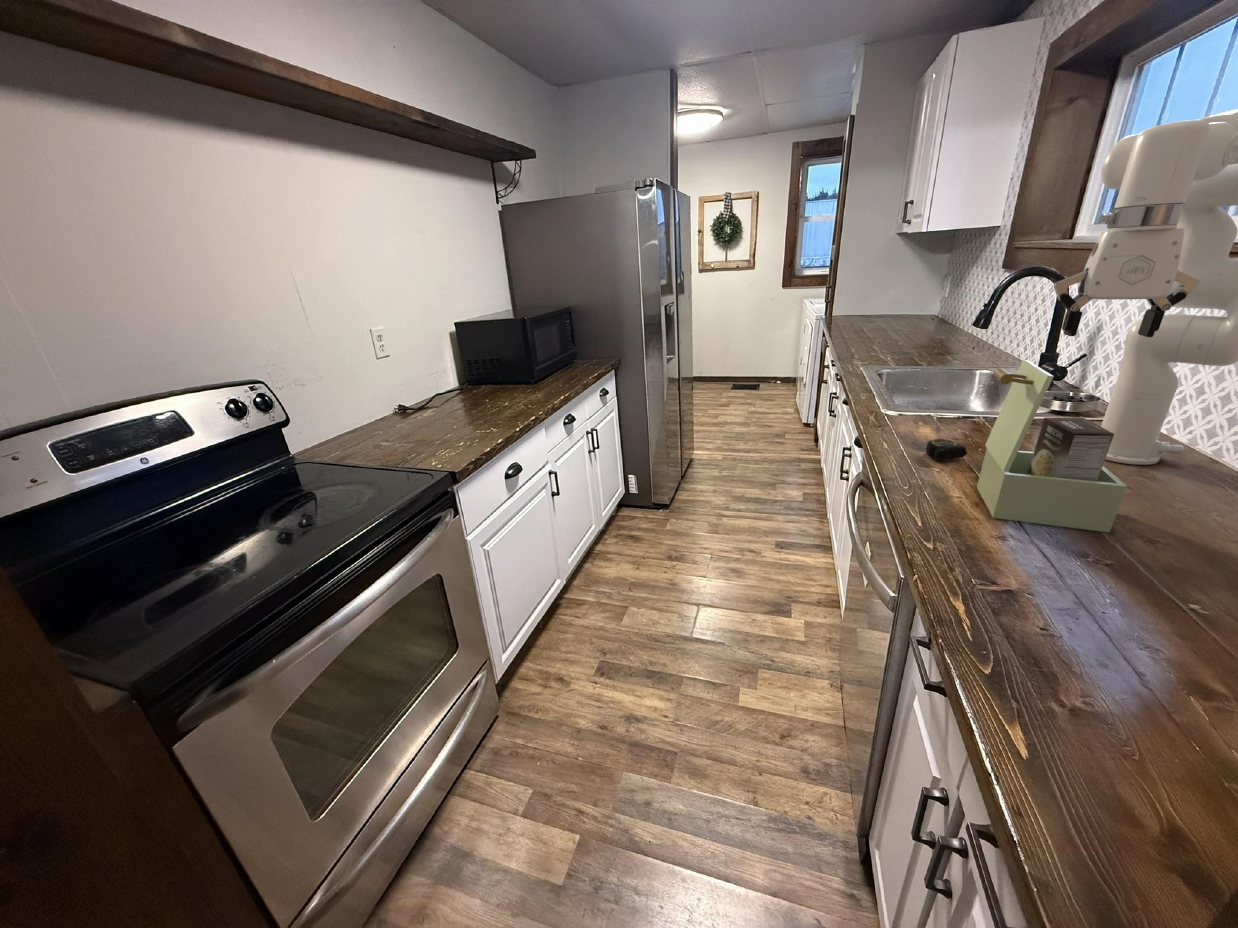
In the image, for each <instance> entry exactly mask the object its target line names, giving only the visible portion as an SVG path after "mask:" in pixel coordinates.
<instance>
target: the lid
mask: <svg viewBox="0 0 1238 928" xmlns="http://www.w3.org/2000/svg"><path fill="white" fill-rule="evenodd" d="M993 377H995V379H997V380H998V381H999V382H1000V383H1001V384H1003V385H1009V384H1011V386H1010V388H1009V391H1008V392H1007V395H1006V397H1005V400H1004V402H1003V404H1002V406H1001V408H1000V411H999V413H998V414H997V417H996V419H995V422H994V424H993V427H992V428H991V431H990V433H989V435H988V438H987V440H986V442H985V444H984V446H985V447H986V449H988V450H989V452H990V453H991V455H992V456H993V457H994V459H995V460H996V462H997V463H998V465H999V466H1000V468H1001V469H1002V470H1003V471H1004V472H1008V471H1009V469H1010V467H1011V465H1012V463H1013V461H1014V459H1015V456H1016V454H1017V452H1018V451H1020V448H1021V446H1022V445H1023V442H1024V440H1025V438H1026V436H1027V433H1028V431H1029V429H1030V427H1031V425H1032V423H1033V421H1034V418H1035V417H1036V415H1037V413H1038V410H1039V408H1040V406H1041V404H1042V402H1043V400H1044V398H1045V396H1046V394H1047V391H1048V389H1049V387H1050V385H1051V383H1052V381H1053V379H1054V375H1052V374H1051V373H1049V372H1048V371H1047V370H1044V369H1043V368H1041V367H1039V366H1038V365H1037V364H1035V363H1033V362H1031V361H1030V360H1029V359H1022V361H1021V363H1020V365H1019V367H1018V370H1017V372H1016V373H1013V372H1009V371H1007V370H1005V369H1004V368H1002V367H999V368H996V369H995V370H994V371H993Z"/></svg>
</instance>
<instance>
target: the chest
mask: <svg viewBox="0 0 1238 928" xmlns="http://www.w3.org/2000/svg"><path fill="white" fill-rule="evenodd" d="M1033 454H1034V451H1026V450H1018V452H1017V454H1016V456H1015V459H1014V461H1013V463H1012V465H1011V467H1010V469H1009V471H1008V472H1004V471H1003V470H1002V469H1001V468H1000V466H999V465H998V463H997V462H996V460H995V459H994V457H993V456H992V455H991V453H990V452H989V450H988V449H987V448H986V450H985V453H984V457H983V461H982V465H981V469H980V473H979V477H978V481H977V484H976V489H977V491H978V493H979V495H980V497H981V498H982V500H983V502H984V504H985V506H986V508H987V510H988V512H989V513H990V515H991V517H992V518H993V519H998V520H1008V521H1016V522H1022V523H1030V524H1038V525H1044V526H1045V525H1046V526H1047V525H1048V526H1053V527H1054V526H1055V527H1060V528H1061V527H1062V528H1070V529H1077V530H1085V531H1094V532H1101V533H1107V534H1108V533H1111V530H1112V527H1113V525H1114V523H1115V520H1116V517H1117V514H1118V511H1119V509H1120V507H1121V504H1122V501H1123V499H1124V497H1125V493H1126V491H1127V489H1128V485H1126V484H1125V483H1124V482H1123V481H1122V480H1120V479H1119V478H1118V477H1117V476H1116V475H1114V474H1113V472H1111V471H1110V470H1109V469H1108V468H1107V467H1105V466H1104V465H1103V466H1102V469H1101V472H1100V475H1099V477H1098V480H1097V481H1086V480H1076V479H1066V478H1056V477H1045V476H1035V475H1027V474H1028V471H1029V467H1030V464H1031V461H1032V457H1033Z"/></svg>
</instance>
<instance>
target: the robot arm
mask: <svg viewBox="0 0 1238 928" xmlns="http://www.w3.org/2000/svg"><path fill="white" fill-rule="evenodd" d="M1100 176H1101V181H1102V183H1103V185H1104V186H1105V187H1106V188H1108V189H1110V190H1119V191H1118V195H1117V198H1116V201H1115V204H1114V208H1113V209H1111V211H1110V212H1108V213H1103V214H1101V215H1099V218H1098V224H1099V225H1101V224H1104V225H1106V228H1107V230H1106V231H1103V232H1101V233H1100V235H1099V237H1098V239H1097V241H1096V242H1095V245H1094V246H1093V248H1092V251H1091V252H1090V253H1089V256H1088V259H1087V262H1086V264H1085V266H1084V269H1083V270H1082V271H1080V272H1078V273H1075V274H1073V275H1071V276H1068V277H1066V278H1063V279H1061V280H1058V281H1056V282H1054V283H1053V290H1054V292H1055V295H1056V299H1057V300H1058V302H1059V303H1060V304H1061V305H1062V306H1063V308H1064V309H1065V310H1066V312H1065V316H1064V319H1063V322H1062V326H1061V329H1062V331H1063V335H1065V336H1067V337H1075V336H1077V334H1078V330H1079V327H1080V323H1081V320H1082V316H1083V311H1081V308H1083V307H1085V306H1086V305H1087V304H1089V303H1090V302H1091V301H1093V300H1146V301H1147V303H1148V304H1149V305H1150V308H1147V309H1146V310H1145V312H1144V315H1143V316H1142V317H1140V318H1138V319H1136V320H1135V321H1134V322H1133V323H1132V324H1131V325H1130V326H1129V327H1128V330H1127V332H1126V336H1125V341H1124V349H1123V356H1122V361H1121V365H1120V369H1119V372H1118V375H1117V379H1116V382H1115V385H1114V388H1113V391H1112V393H1111V397H1110V400H1109V401H1108V405H1107V408H1106V410H1105V414H1104V416H1103V419H1102V422H1101V426H1100V427H1102V428H1104V429H1106V430H1108V431H1110V432H1112V433H1114V436H1113V439H1112V442H1111V445H1110V447H1109V450H1108V453H1107V455H1106V458H1105V461H1109V462H1114V463H1120V464H1126V465H1138V466H1140V465H1141V466H1148V465H1155V464H1157V463H1159V462H1160V459H1161V456H1160V455H1159V454H1164V453H1169V454H1177V455H1181V454H1183V453H1184V451H1185V446H1184V445H1183V444H1170V442H1169V441H1160V440H1159V439H1158V438H1159V437H1160V433H1161V430H1162V428H1163V425H1164V423H1165V420H1166V417H1167V415H1168V413H1169V410H1170V407H1171V405H1172V402H1173V400H1174V397H1175V395H1176V392H1177V390H1178V387H1179V378H1178V376H1177V374H1176V373H1175V371H1174V369H1173V368H1172V366H1171V365H1170V363H1172V364H1173V363H1174V364H1177V363H1180V364H1190V365H1201V366H1213V367H1227V366H1231V365H1234V364H1237V362H1238V257H1229V256H1230V253H1231V250H1232V247H1233V245H1234V244H1235V243H1234V242H1235V240H1236V239H1237V236H1238V226H1237V224H1236V222H1235V221H1234V220H1233V218H1232V217H1231V215H1230V214H1229V213H1228V212H1227V211H1226V210H1225V209H1224V208H1223V207H1232V206H1233V207H1234V206H1238V109H1233V110H1229V111H1224V112H1221V113H1218V114H1213V115H1210V116H1205V117H1200V118H1197V119H1196V118H1195V119H1188V120H1187V119H1186V120H1179V121H1178V120H1177V121H1170V122H1167V123H1162V124H1161V123H1160V124H1158V125H1152V126H1151V127H1150V126H1149V127H1148V128H1146V129H1144V130H1142V131H1141V132H1139V133H1135V134H1131V135H1127V136H1124V137H1122V138H1121V139H1119V140H1118V141H1117V142H1115V144H1114V145H1113V146H1112V147H1111V148H1110V150H1109V151H1108V153H1107V154H1106V156H1105V158H1104V160H1103V162H1102V166H1101V173H1100ZM1075 284H1078V286H1077V287H1078V288H1077V295H1075V296H1074V297H1072V296H1071V295H1070V294H1069V290H1068V289H1069V287H1072V286H1073V285H1075ZM1172 308H1181V309H1202V310H1203V309H1207V310H1222V311H1225V312H1226V316H1220V315H1219V316H1217V315H1196V314H1177V313H1166V312H1168V311H1170V310H1171V309H1172Z"/></svg>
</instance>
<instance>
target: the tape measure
mask: <svg viewBox="0 0 1238 928" xmlns="http://www.w3.org/2000/svg"><path fill="white" fill-rule="evenodd" d="M925 453H926V455H927V456H929V457H931V458H933V459H937V460H943V461H946V460H953V459H961V458H964V457H965V456H967V455H968V451H967V448H966V446H964V445H961V444H959V443H958V442H956V441H954V440H951V439H946V438H934V439H930V440H929V441H928V442H927V444H926V447H925Z"/></svg>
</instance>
